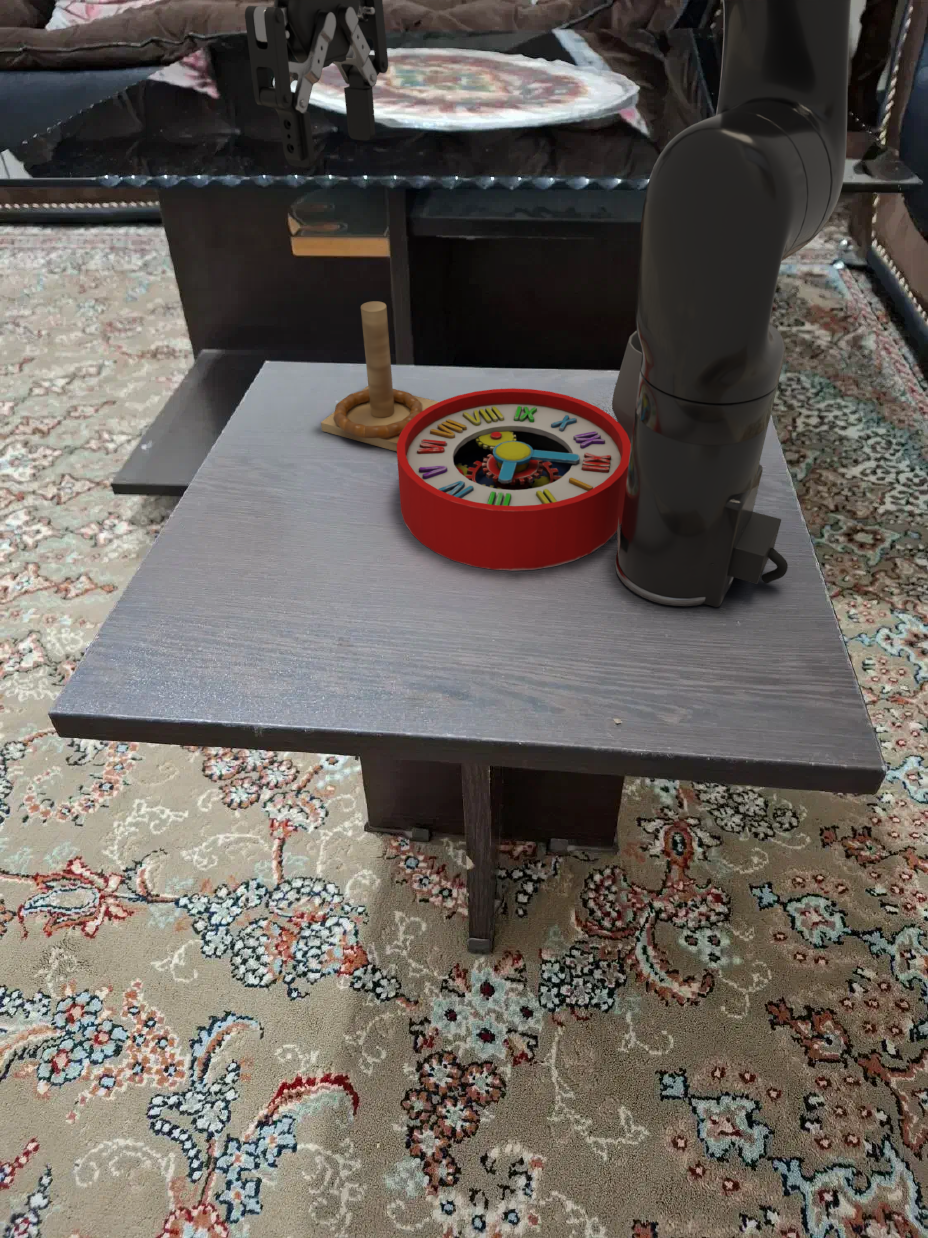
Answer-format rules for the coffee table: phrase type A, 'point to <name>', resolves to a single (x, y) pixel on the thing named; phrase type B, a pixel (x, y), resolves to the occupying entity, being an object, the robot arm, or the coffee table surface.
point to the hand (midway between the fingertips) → (333, 151)
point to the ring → (374, 431)
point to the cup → (628, 385)
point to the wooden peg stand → (376, 382)
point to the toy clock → (513, 478)
